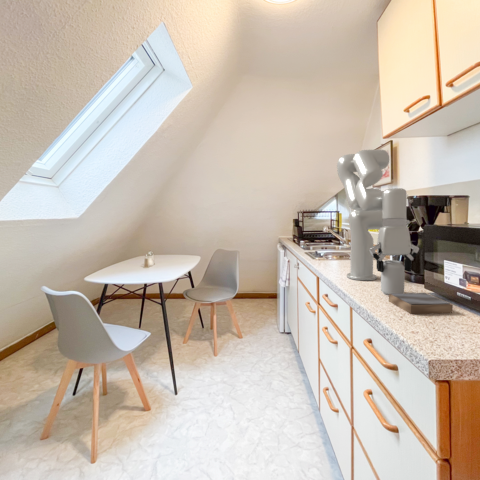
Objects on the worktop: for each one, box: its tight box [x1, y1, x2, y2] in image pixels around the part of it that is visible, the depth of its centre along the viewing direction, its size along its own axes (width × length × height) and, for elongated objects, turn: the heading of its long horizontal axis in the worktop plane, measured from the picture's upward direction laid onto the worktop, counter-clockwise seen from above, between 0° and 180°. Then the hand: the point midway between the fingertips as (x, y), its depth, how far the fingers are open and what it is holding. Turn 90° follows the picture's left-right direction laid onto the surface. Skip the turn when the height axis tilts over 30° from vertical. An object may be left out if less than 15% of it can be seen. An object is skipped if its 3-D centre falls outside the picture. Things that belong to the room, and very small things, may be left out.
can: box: [380, 259, 406, 296], centre depth 100 cm, size 8×8×12 cm
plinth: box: [388, 292, 454, 315], centre depth 86 cm, size 12×12×3 cm
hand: (393, 271), depth 99 cm, fingers open, 9 cm apart
